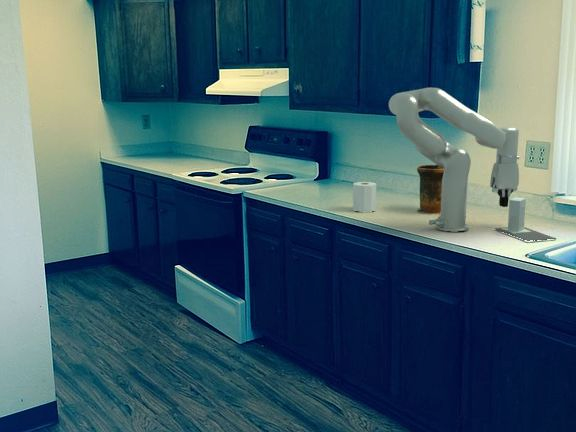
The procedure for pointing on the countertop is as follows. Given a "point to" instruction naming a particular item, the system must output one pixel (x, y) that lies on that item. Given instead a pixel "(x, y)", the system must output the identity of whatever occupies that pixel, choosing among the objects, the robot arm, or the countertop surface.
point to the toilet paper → (364, 196)
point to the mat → (526, 234)
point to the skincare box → (516, 214)
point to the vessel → (430, 188)
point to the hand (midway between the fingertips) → (503, 206)
